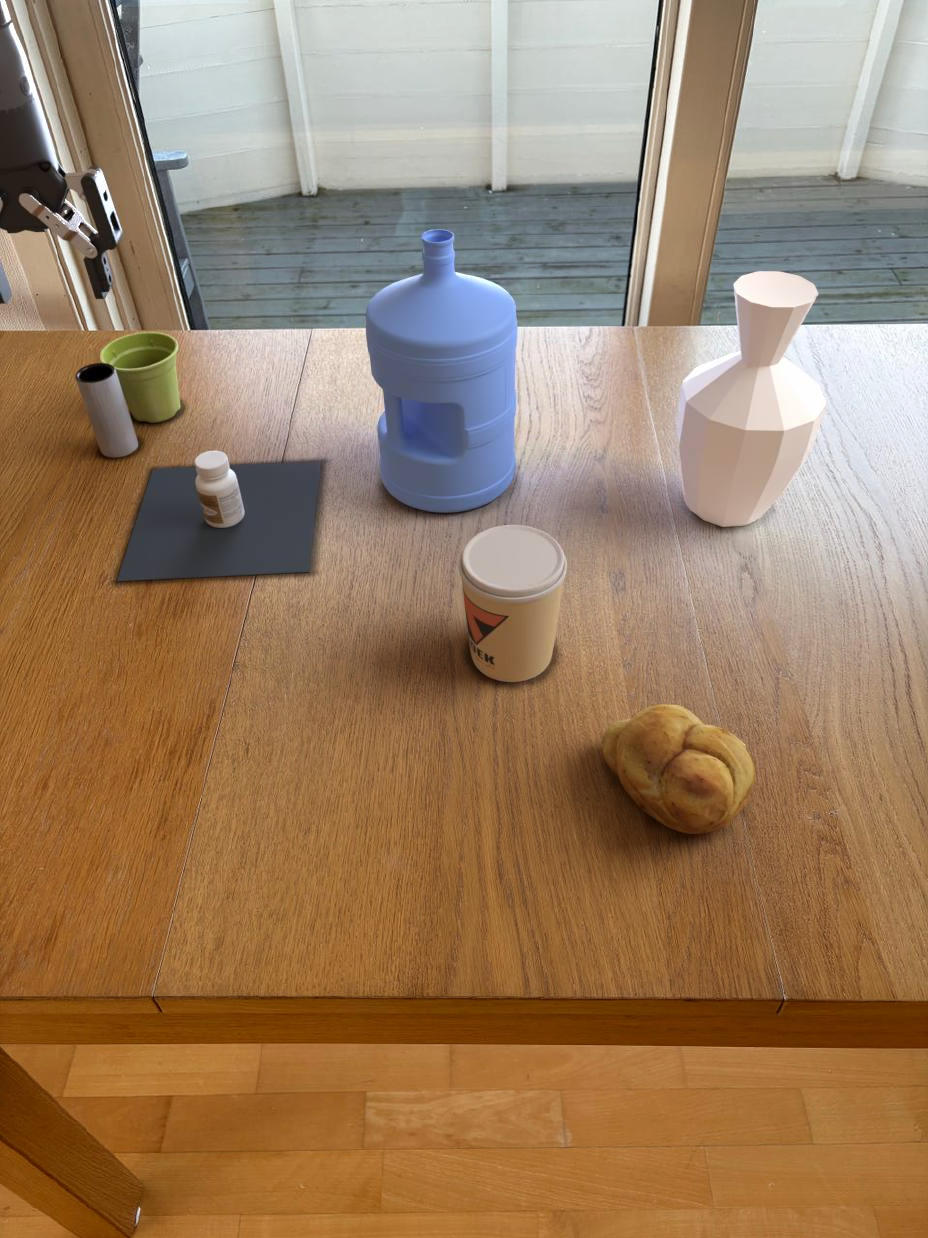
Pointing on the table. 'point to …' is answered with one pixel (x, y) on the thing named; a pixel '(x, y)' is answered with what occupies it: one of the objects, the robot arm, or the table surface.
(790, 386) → the vase
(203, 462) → the pill bottle
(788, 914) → the table surface
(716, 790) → the bread roll
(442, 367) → the water jug
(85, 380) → the white cylinder
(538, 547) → the coffee cup
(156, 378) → the plant pot
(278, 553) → the mat
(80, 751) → the table surface
